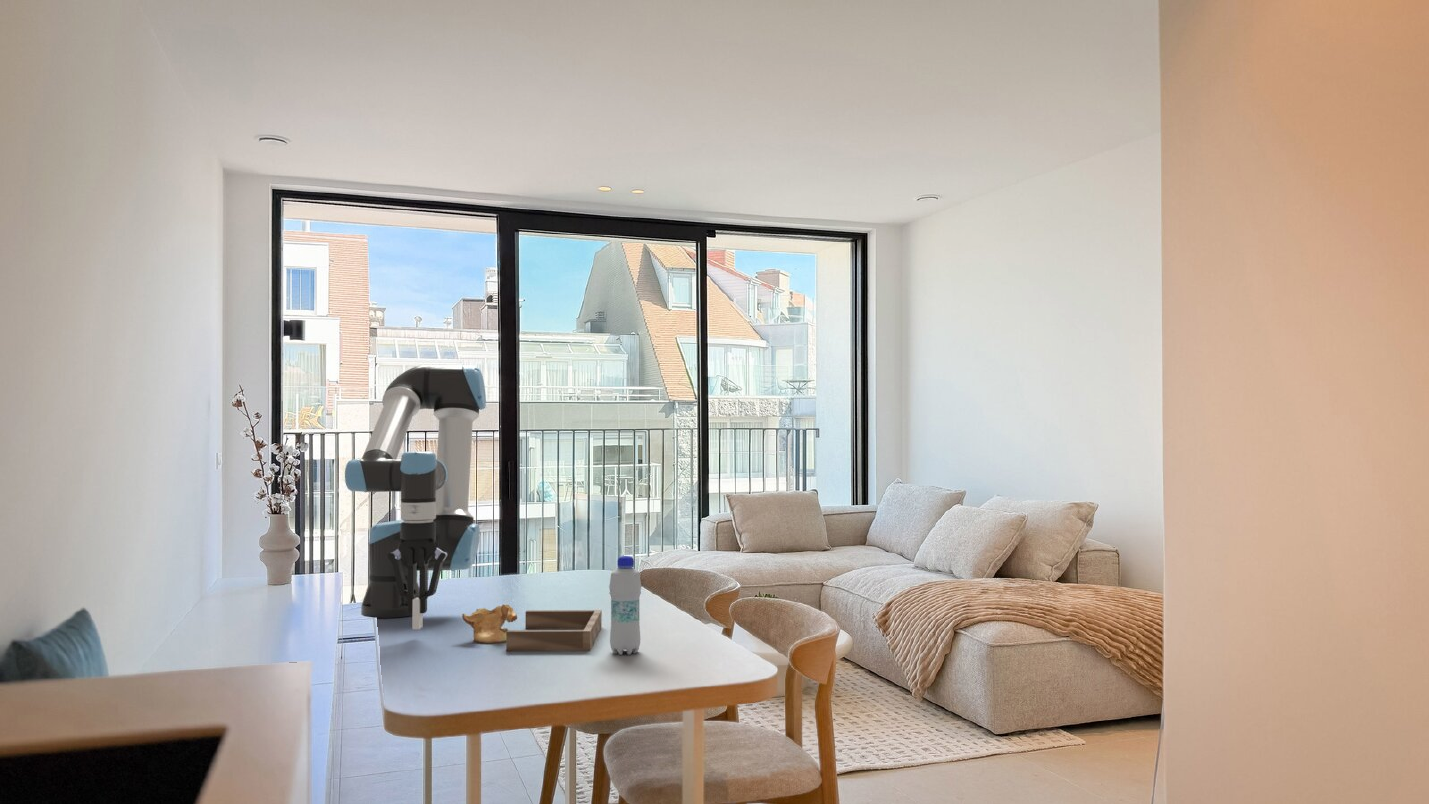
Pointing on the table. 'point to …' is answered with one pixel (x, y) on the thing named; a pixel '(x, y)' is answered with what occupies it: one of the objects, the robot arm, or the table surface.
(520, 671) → the table surface
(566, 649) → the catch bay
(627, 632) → the bottle
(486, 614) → the golden dog figurine
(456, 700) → the table surface
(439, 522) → the robot arm
